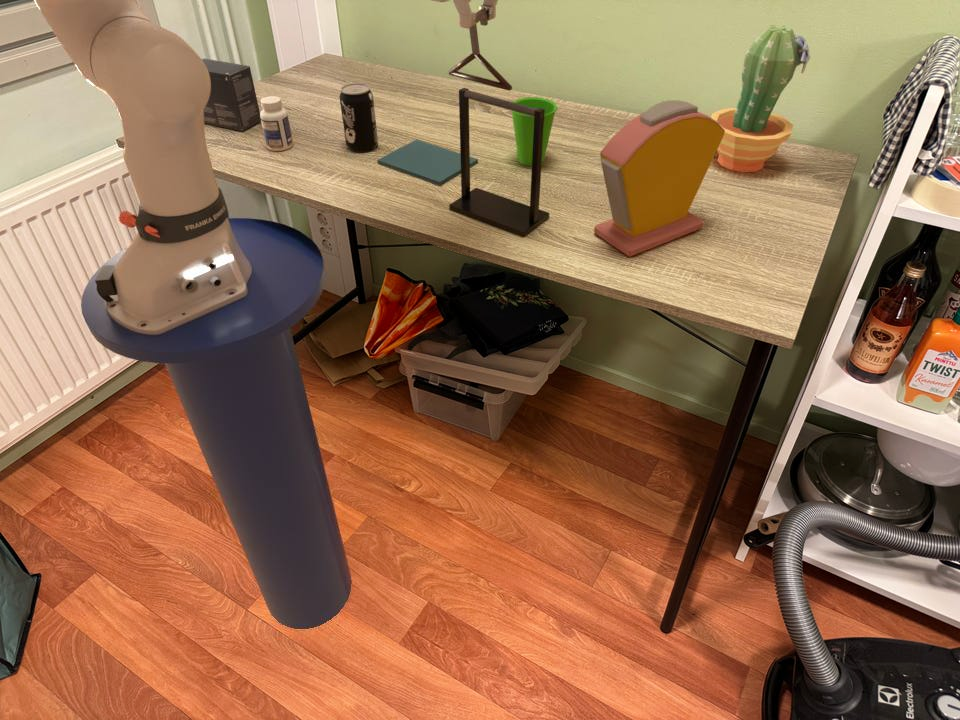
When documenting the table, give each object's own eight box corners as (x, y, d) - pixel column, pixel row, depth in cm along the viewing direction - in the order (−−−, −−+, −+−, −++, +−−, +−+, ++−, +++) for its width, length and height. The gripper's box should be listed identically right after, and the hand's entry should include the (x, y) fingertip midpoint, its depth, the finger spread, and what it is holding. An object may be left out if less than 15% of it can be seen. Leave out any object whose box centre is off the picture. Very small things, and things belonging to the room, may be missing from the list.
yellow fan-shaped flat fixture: (675, 202, 123) (700, 81, 108) (714, 225, 117) (746, 99, 102) (580, 238, 114) (593, 110, 100) (616, 264, 108) (636, 132, 94)
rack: (523, 237, 114) (528, 119, 101) (449, 209, 121) (444, 96, 108) (549, 218, 119) (557, 102, 105) (476, 192, 126) (475, 81, 113)
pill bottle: (285, 138, 144) (275, 92, 138) (298, 146, 141) (289, 99, 135) (262, 146, 142) (251, 99, 135) (275, 154, 139) (265, 106, 132)
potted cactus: (765, 187, 127) (807, 46, 110) (687, 165, 134) (716, 29, 117) (792, 158, 136) (835, 24, 119) (718, 138, 143) (749, 9, 126)
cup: (534, 175, 131) (537, 119, 124) (499, 161, 136) (500, 106, 128) (562, 160, 136) (567, 105, 129) (527, 147, 140) (530, 93, 133)
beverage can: (340, 148, 140) (331, 89, 133) (361, 137, 145) (354, 79, 137) (363, 156, 138) (356, 96, 130) (385, 144, 142) (378, 86, 134)
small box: (263, 121, 151) (251, 65, 143) (243, 132, 147) (229, 75, 139) (217, 111, 156) (203, 56, 148) (196, 122, 151) (180, 66, 143)
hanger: (510, 92, 100) (504, 26, 92) (447, 75, 105) (437, 12, 98) (522, 81, 101) (518, 16, 94) (460, 65, 106) (451, 2, 99)
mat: (440, 185, 128) (439, 182, 127) (377, 163, 135) (377, 159, 135) (478, 162, 135) (478, 159, 135) (416, 142, 142) (416, 139, 142)
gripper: (503, -105, 95) (502, 3, 104) (407, -85, 83) (414, 36, 92) (541, -101, 92) (536, 10, 101) (447, -79, 80) (450, 45, 89)
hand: (477, 23), depth 97 cm, fingers closed on hanger, 3 cm apart
